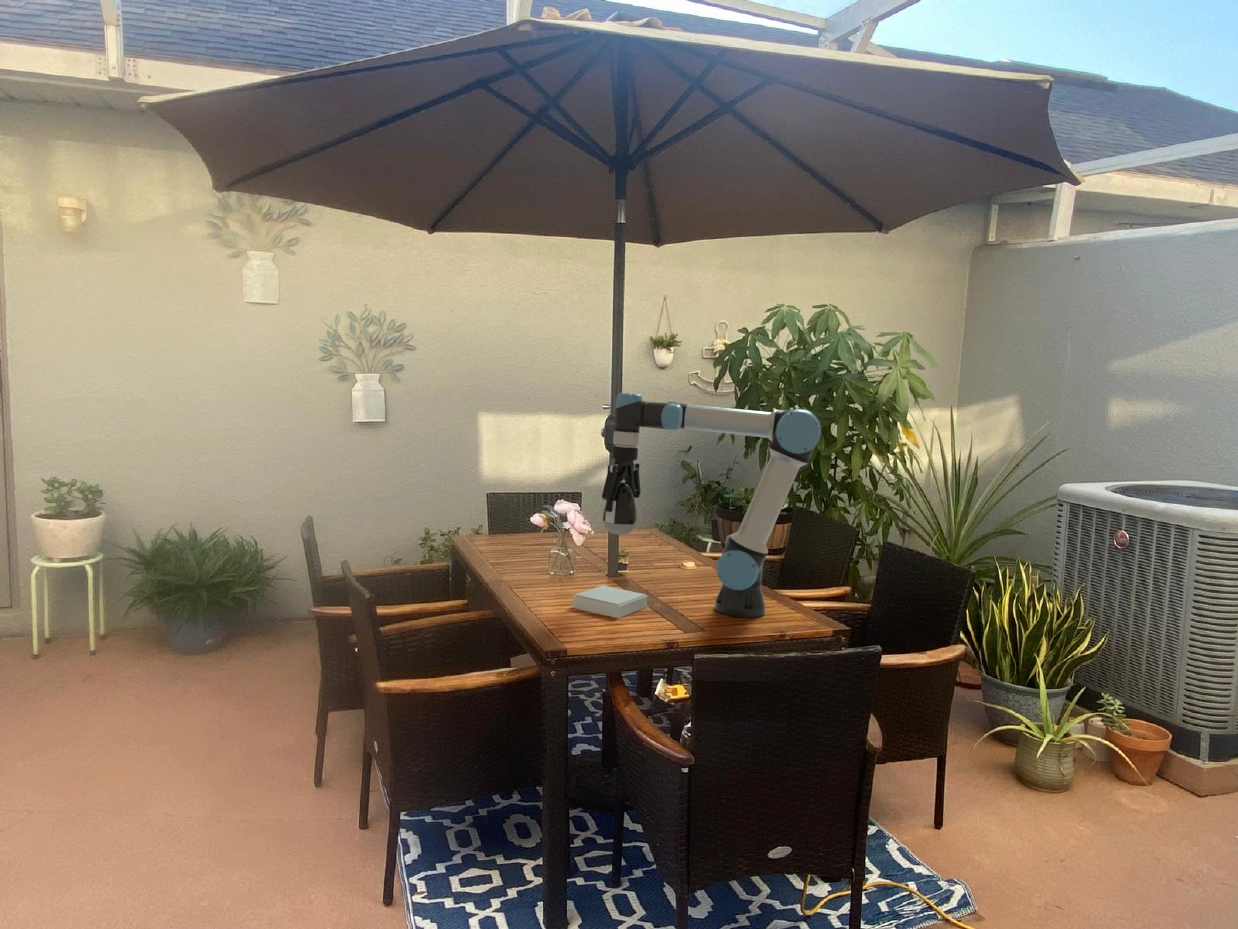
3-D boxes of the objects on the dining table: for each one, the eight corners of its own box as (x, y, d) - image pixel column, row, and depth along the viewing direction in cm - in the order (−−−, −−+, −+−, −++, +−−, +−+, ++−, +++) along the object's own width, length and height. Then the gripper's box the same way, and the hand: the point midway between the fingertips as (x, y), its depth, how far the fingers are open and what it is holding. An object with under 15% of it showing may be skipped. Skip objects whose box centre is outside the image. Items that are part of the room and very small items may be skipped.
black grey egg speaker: (606, 536, 240) (610, 484, 239) (597, 529, 250) (601, 479, 249) (640, 537, 243) (644, 485, 241) (630, 530, 253) (634, 480, 251)
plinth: (646, 607, 251) (647, 594, 250) (618, 618, 237) (618, 604, 237) (602, 597, 259) (602, 584, 259) (572, 607, 246) (573, 594, 245)
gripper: (634, 443, 255) (629, 514, 258) (593, 445, 236) (587, 522, 239) (656, 446, 251) (650, 518, 254) (615, 448, 232) (609, 526, 235)
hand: (619, 520), depth 246 cm, fingers closed on black grey egg speaker, 10 cm apart
